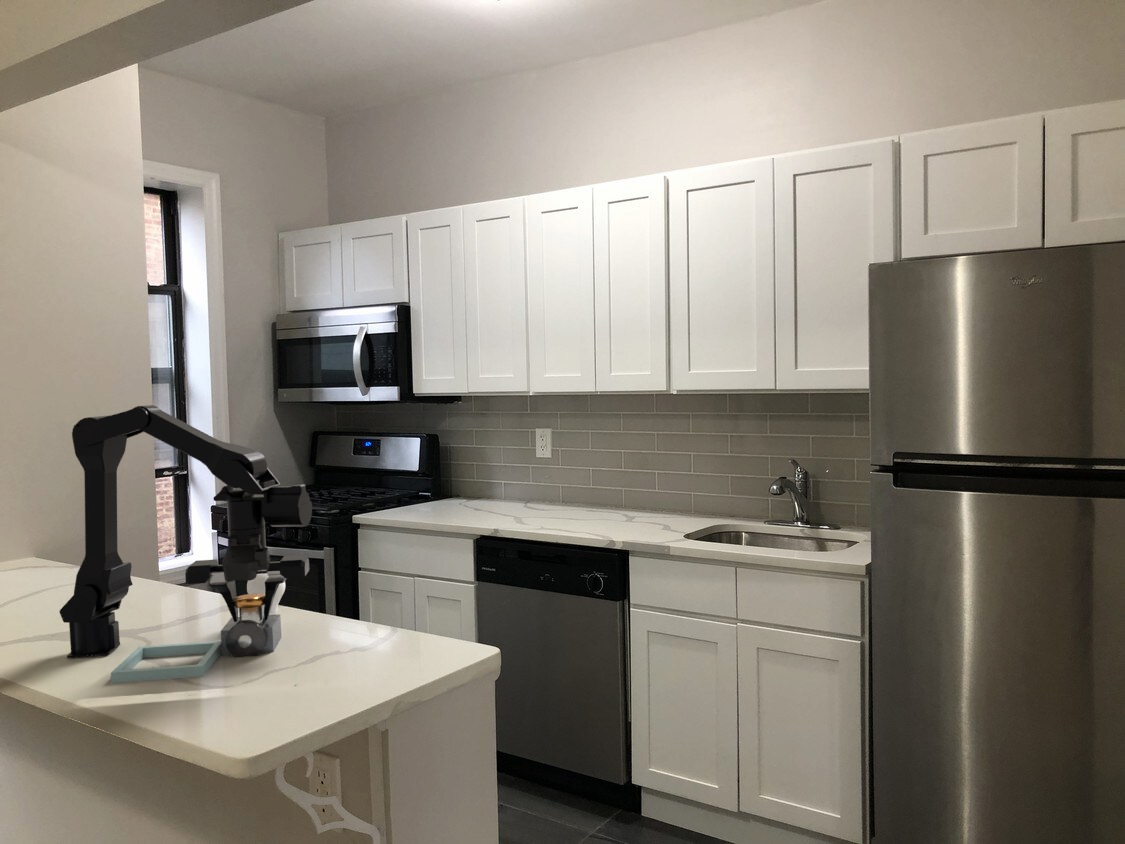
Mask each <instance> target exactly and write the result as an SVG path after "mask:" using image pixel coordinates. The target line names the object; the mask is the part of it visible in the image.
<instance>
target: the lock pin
mask: <svg viewBox="0 0 1125 844" xmlns="http://www.w3.org/2000/svg"><path fill="white" fill-rule="evenodd" d="M264 604H265V595H264V594H248V593H247V594H241V595H238V596H237V597H236V598H235V607H237V608H238V617H240V621H242V620H253V621H255V622H257V623H259V624H260V625H263V614H262V605H264Z"/></svg>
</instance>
